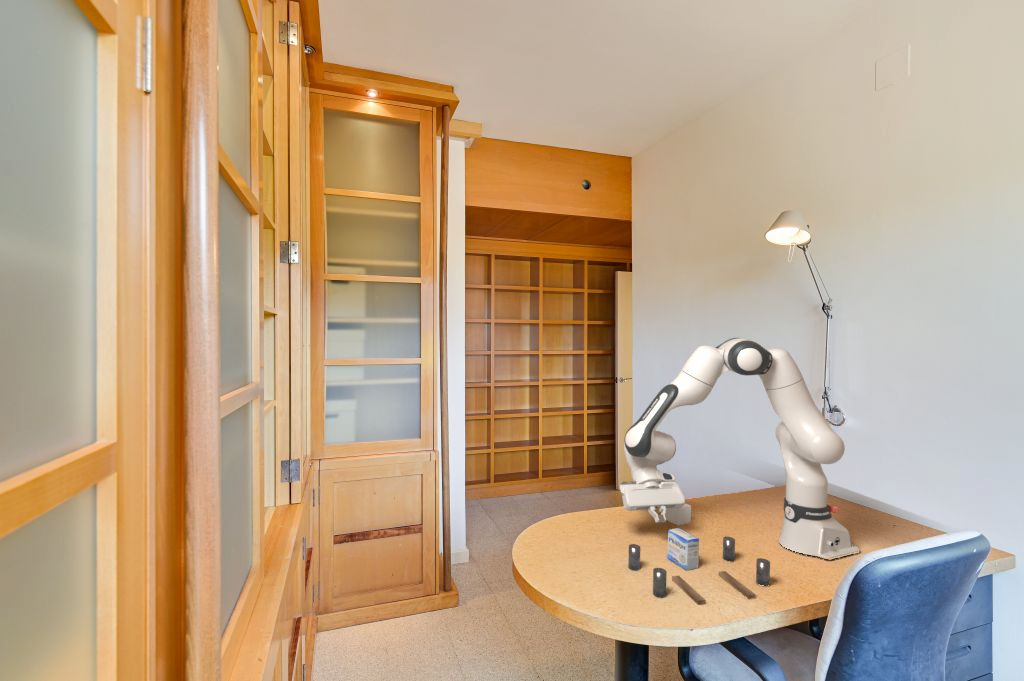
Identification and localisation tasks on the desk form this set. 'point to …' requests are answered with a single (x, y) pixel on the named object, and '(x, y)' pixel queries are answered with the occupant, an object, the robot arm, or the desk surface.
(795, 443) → the robot arm
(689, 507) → the white cube
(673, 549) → the medicine box
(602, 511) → the desk surface
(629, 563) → the spacer posts
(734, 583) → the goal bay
